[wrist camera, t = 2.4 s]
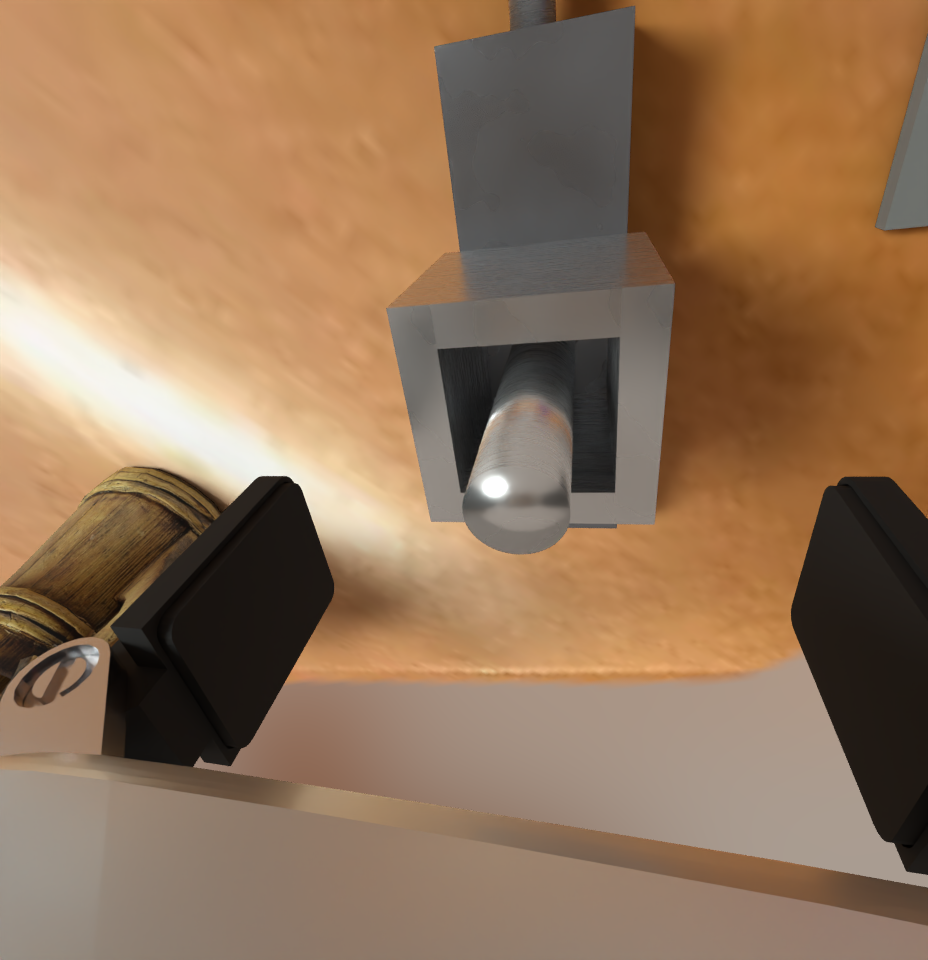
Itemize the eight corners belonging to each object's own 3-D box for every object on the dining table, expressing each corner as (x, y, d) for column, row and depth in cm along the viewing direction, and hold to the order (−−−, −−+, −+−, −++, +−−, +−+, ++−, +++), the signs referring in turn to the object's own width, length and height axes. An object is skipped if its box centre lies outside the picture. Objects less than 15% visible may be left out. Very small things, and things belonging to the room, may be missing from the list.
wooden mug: (335, 552, 29) (79, 997, 14) (173, 597, 34) (-137, 955, 19) (233, 417, 25) (-268, 839, 10) (67, 491, 30) (-421, 840, 15)
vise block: (424, -201, 13) (-67, -1204, 3) (636, -267, 12) (901, -2176, 2) (502, 492, 24) (448, 740, 14) (613, 492, 23) (636, 761, 13)
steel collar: (444, 253, 16) (386, 308, 11) (645, 231, 15) (675, 283, 10) (468, 422, 20) (430, 521, 15) (635, 417, 18) (654, 524, 13)
